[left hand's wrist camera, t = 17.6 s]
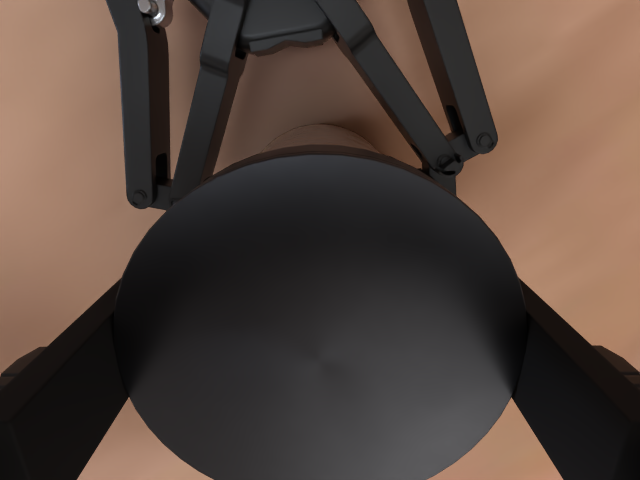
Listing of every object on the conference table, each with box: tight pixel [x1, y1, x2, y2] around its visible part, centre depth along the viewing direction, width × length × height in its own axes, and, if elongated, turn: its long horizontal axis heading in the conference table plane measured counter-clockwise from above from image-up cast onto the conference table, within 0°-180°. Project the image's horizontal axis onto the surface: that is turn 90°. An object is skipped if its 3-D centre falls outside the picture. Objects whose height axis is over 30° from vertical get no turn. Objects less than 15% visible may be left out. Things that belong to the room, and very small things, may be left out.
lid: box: [113, 144, 527, 480], centre depth 11 cm, size 11×11×2 cm
